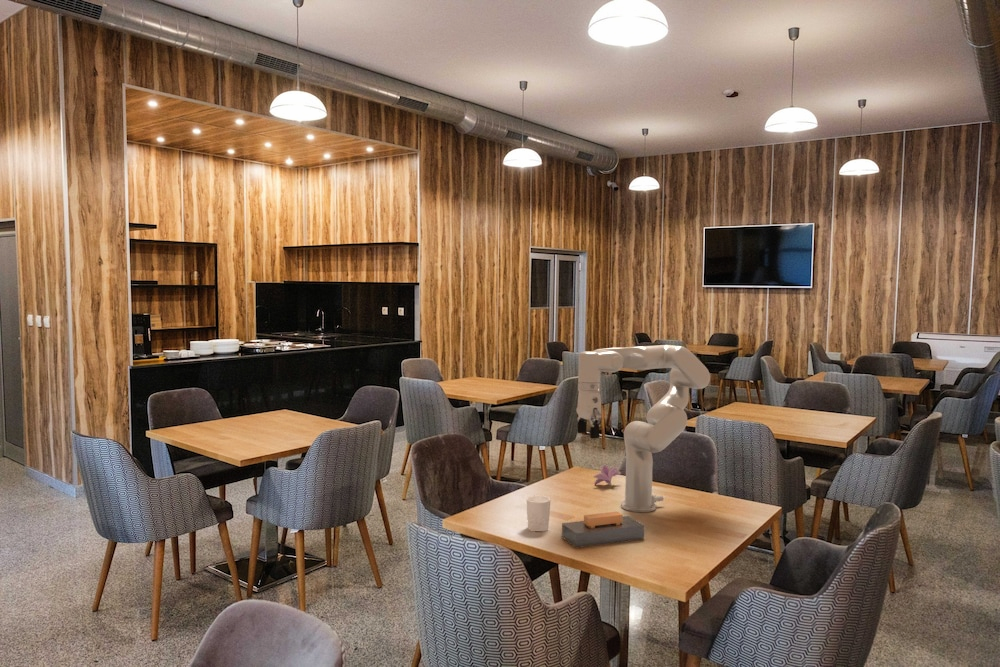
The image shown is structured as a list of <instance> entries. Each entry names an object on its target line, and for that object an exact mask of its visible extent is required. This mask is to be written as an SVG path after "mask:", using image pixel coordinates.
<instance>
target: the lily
mask: <svg viewBox="0 0 1000 667" xmlns="http://www.w3.org/2000/svg"><path fill="white" fill-rule="evenodd" d="M618 467H619V465H616V466H613V467H612V468H610V466H608V465H607V464H603V465H602V466H601V469H600V473H597V474H595V475H593V478H596V480H595V481H594V484H596V485H598V484H600V483H602V482H605V483H606V484H608V485H610V486H611V487H610V488H611V489H612V490H613V489H614V488H613V484H612V479H613V477H615V476H619V475H620V474H622V471H619V470H617V469H618Z"/></svg>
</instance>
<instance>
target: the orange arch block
mask: <svg viewBox="0 0 1000 667" xmlns="http://www.w3.org/2000/svg"><path fill="white" fill-rule="evenodd" d="M622 517H623V514H622V513H620V512H619V511H610V512H602V513H592V514H586V515H585V514H584V515H583V521H584V524H586V526H587V527H588V528H590V529H591V528H595V526H597V525H605V524H614V525H615V526H617V525H620V523H622Z"/></svg>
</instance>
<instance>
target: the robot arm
mask: <svg viewBox="0 0 1000 667" xmlns="http://www.w3.org/2000/svg"><path fill="white" fill-rule="evenodd" d="M621 369H626V370H627V369H628V370H632V371H633V370H634V371H646V370H655V369H671V370H670V372H669V373H670V374H669V388H668V391H667V392H666V393H665V394H664V395H663V396H662V397H661V398H660V399H659V400H658V401H657V402H656V403H655V404H654V405H652V406H651V407H650V409H648V411H647V412H646V417H645V418H646V421H647V422H645V421H639V420H634V421H631V422H630V423H628V424H627V425H626V426H625V428H624V431H623V441H624V446H625V492H624V493H625V494H624V495H625V496H624V498H625V499H624V500H622V501H621V502H620V507H621V508H622V509H623V510H626V511H628V512H635V513H648V512H649V513H650V512H653V511H655V510H656V509H657V505H656V503H657V502H664V499H665V498H664V496H663V495H658V496H657V494H653V465H654V464H653V463H654V462H653V453H655V454H656V453H659V452H662V451H663V450H664V449H666V448H667V447H668V446H669V445H670V444H671V443H672V442H673V441H674V440H676V438H678V436H680V434H682V433H683V432H684V430H685V429H686V426H687V423H688V415H687V413H686V411H685V408H686V407H687V406H688V404H689V400H690V394H689V393H690V391H689V390H690V389H695V390H702V389H704V388H706V387H707V386H709V384H710V382H711V373H710V372H709V369H708V368H707V367H706V366H705V364H704V363H702V361H701V360H700V359H699V358H697V356H696V355H695V354H694V353H693V352H691V351H690V350H689V349H688V348H686V346H681V345H675V344H674V345H673V344H660V345H658V344H657V345H656V344H655V345H644V346H643V345H642V346H641V345H640V346H627V347H608V348H597V349H594V350H593V351H592V350H591V351H590V350H588V351H587V350H585V351H581V352H579V353H578V370H577V371H578V377H577V380H578V381H577V382H578V384H577V390H578V395H577V407H576V408H575V411H576V417H577V418H576V421H577V434H586V433H587V421H589V423H590V427H589V434H590V435H589V436H590V439H591V440H592V439H599V438H600V428H601V423H602V417H603V416H602V399H601V397H602V396H601V393H600V392H601V391H600V390H601V387H600V386H601V372H605V373H616V372H619V371H620V370H621ZM586 420H587V421H586Z"/></svg>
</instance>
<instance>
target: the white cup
mask: <svg viewBox="0 0 1000 667" xmlns="http://www.w3.org/2000/svg"><path fill="white" fill-rule="evenodd" d="M550 510H551V498H550V497H549V496H545V495H532V496H531V495H530V496H528V497H527V498H526V515H527V518H526V519H527V529H528V530H529V531H531V530H532V531H531V532H535V531H543V532H546V531H549V524H550V514H551V513H550V512H551V511H550Z"/></svg>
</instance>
